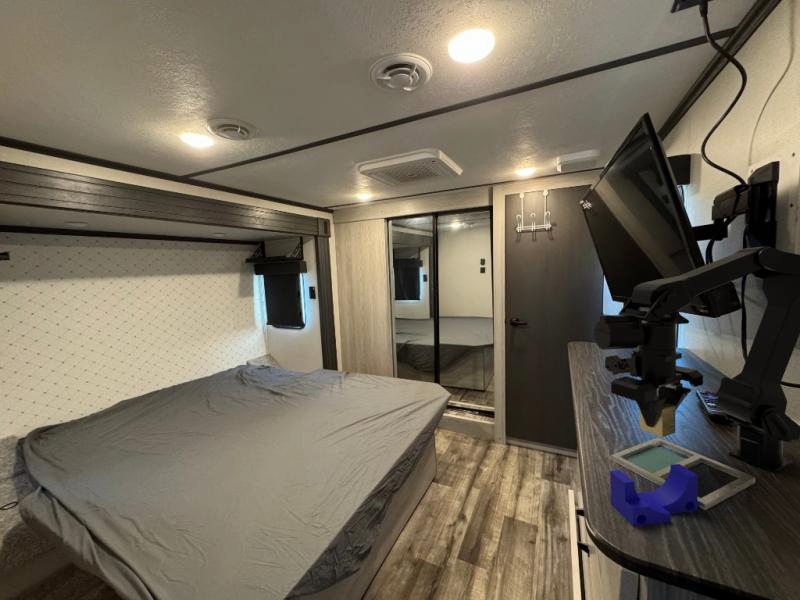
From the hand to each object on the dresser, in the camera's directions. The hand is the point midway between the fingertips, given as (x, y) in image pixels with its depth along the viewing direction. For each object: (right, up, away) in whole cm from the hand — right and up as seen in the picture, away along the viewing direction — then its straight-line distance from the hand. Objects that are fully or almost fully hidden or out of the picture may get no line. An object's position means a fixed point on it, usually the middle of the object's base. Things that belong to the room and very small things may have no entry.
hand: (657, 424), depth 61 cm
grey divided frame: (+2, -8, -3) cm, 8 cm away
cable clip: (-10, -10, -12) cm, 18 cm away
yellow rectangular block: (0, -1, 0) cm, 1 cm away
